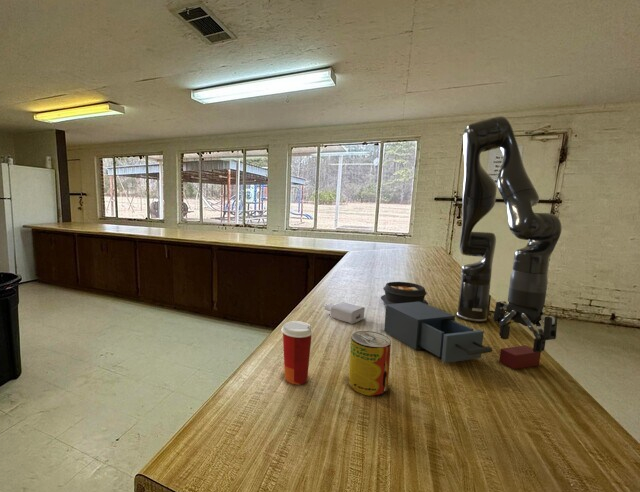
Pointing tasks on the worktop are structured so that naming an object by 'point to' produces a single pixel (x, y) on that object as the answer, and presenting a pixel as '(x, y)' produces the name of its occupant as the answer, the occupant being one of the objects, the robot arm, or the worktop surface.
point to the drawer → (451, 340)
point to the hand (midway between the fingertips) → (520, 345)
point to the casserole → (403, 293)
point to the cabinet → (410, 320)
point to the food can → (369, 363)
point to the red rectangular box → (519, 357)
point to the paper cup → (296, 351)
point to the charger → (346, 312)
